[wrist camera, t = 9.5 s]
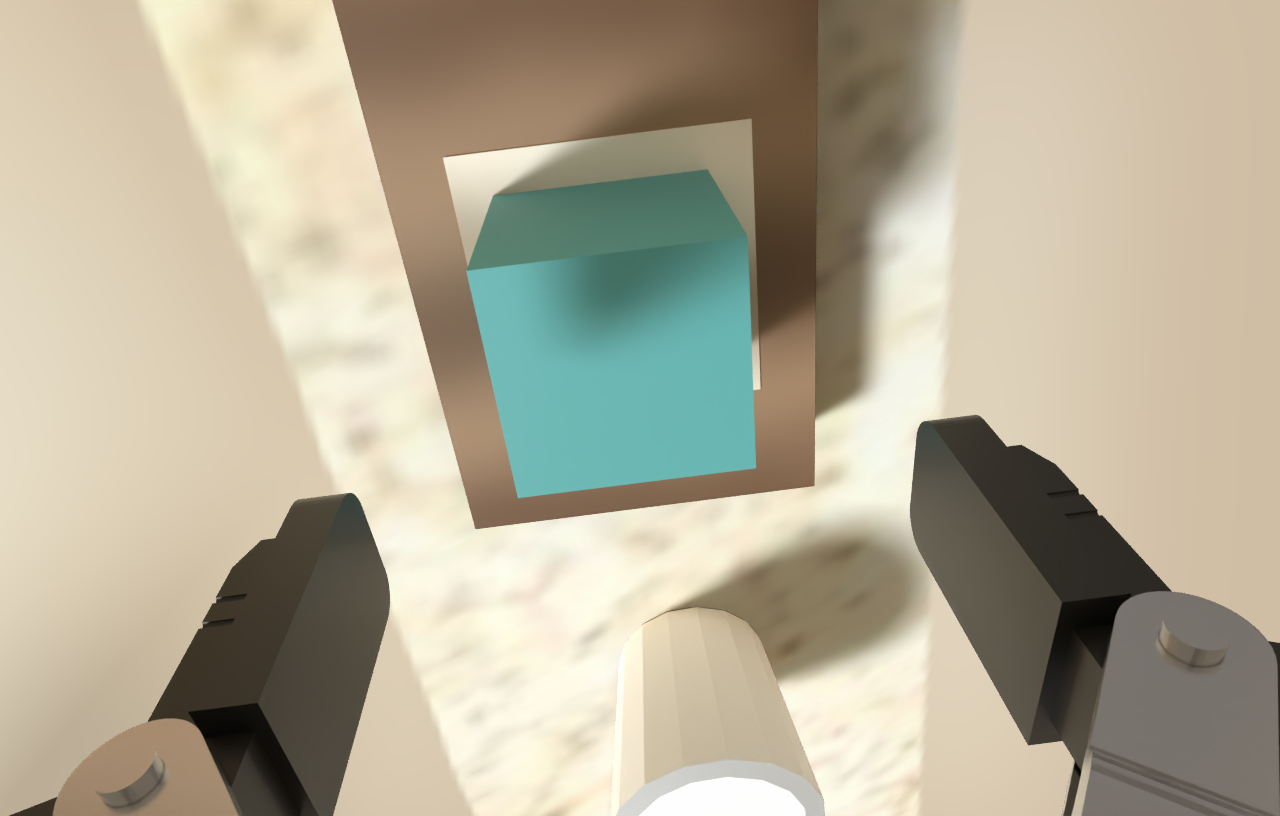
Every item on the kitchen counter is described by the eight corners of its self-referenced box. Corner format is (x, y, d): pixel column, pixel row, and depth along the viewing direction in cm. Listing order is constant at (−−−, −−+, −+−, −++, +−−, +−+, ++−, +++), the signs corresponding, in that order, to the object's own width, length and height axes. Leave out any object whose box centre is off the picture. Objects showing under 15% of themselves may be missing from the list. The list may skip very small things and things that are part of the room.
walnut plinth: (364, -15, 19) (329, -10, 16) (784, -67, 19) (818, -70, 16) (486, 470, 26) (475, 530, 23) (790, 432, 26) (814, 486, 23)
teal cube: (493, 195, 18) (466, 271, 14) (707, 169, 18) (747, 236, 14) (530, 384, 21) (517, 498, 16) (718, 360, 21) (756, 468, 16)
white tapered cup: (788, 592, 29) (844, 758, 23) (767, 716, 33) (811, 889, 27) (604, 596, 29) (611, 768, 23) (602, 722, 32) (608, 900, 26)
